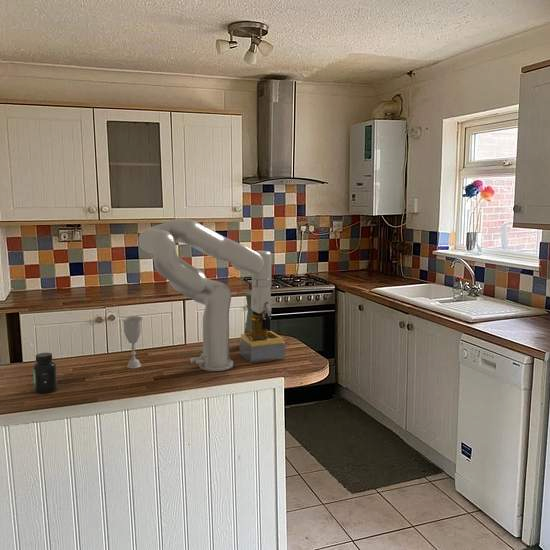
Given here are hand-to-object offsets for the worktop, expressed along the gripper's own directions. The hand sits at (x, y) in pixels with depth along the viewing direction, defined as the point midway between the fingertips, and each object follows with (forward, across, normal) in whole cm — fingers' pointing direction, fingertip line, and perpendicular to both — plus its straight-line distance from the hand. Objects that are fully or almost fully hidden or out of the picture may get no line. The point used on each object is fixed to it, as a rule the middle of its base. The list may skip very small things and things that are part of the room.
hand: (261, 326), depth 208 cm
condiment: (+6, 0, 0) cm, 6 cm away
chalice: (+12, -7, -48) cm, 50 cm away
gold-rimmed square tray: (+12, 0, +1) cm, 12 cm away
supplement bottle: (+13, +7, -78) cm, 79 cm away
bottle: (+12, -14, +2) cm, 19 cm away
